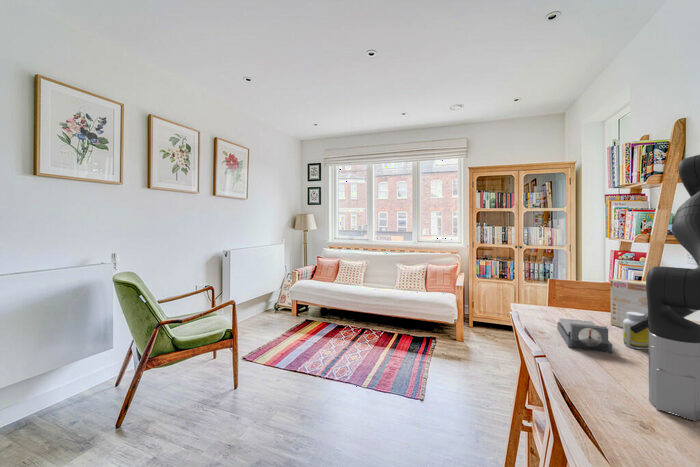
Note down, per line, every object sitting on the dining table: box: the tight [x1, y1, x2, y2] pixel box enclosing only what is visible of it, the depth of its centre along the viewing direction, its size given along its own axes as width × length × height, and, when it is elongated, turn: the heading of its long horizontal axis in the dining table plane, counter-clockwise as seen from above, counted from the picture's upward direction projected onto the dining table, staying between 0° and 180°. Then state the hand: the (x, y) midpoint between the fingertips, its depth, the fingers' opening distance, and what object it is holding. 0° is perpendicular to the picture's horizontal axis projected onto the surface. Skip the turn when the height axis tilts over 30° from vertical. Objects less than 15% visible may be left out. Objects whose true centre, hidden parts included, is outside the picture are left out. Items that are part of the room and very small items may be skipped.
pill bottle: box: [622, 312, 649, 350], centre depth 104 cm, size 6×6×12 cm
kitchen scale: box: [556, 321, 613, 354], centre depth 110 cm, size 21×12×8 cm, turn 154°
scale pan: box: [558, 317, 597, 335], centre depth 112 cm, size 16×11×1 cm, turn 154°
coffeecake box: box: [609, 277, 649, 328], centre depth 120 cm, size 15×7×20 cm, turn 22°
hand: (634, 327), depth 104 cm, fingers open, 8 cm apart
